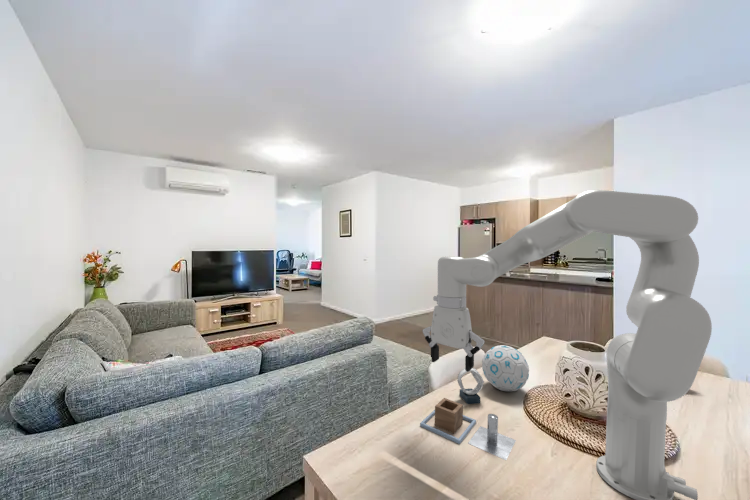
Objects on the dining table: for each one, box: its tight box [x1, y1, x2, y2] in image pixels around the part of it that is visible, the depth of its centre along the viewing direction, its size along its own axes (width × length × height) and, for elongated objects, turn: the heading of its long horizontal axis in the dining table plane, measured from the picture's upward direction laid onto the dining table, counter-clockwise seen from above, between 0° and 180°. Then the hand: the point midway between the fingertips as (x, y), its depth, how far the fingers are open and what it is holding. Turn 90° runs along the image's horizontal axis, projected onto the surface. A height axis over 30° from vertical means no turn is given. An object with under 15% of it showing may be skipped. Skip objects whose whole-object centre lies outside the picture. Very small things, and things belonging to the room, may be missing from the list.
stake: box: [467, 413, 517, 461], centre depth 74 cm, size 9×9×8 cm
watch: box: [456, 367, 485, 405], centre depth 95 cm, size 6×8×11 cm
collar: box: [434, 397, 464, 435], centre depth 81 cm, size 6×6×6 cm
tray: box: [419, 409, 477, 445], centre depth 81 cm, size 11×11×2 cm
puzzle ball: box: [481, 344, 530, 392], centre depth 104 cm, size 15×15×15 cm
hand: (451, 365), depth 80 cm, fingers open, 9 cm apart
